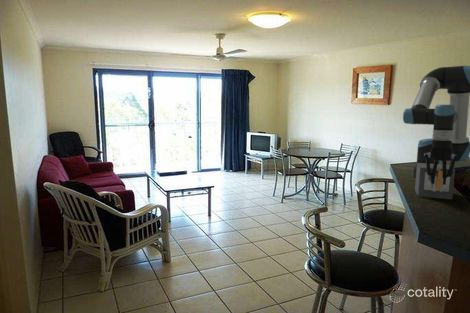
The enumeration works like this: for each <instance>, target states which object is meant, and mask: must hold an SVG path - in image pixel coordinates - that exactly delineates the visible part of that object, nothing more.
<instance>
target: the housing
mask: <svg viewBox="0 0 470 313" xmlns="http://www.w3.org/2000/svg"><path fill="white" fill-rule="evenodd" d="M416 164H417V170H416V177H415V186H414V191H415V192H416V195H417V197H418V198H419V197H420V198H432V199H445V200H453V196H454V186H455V176H456V175H455V174H456V169H455V167H454V168H453V172H452V175H451V177H450V182H449V192H446V191H442V192H440V191H436V192H434V191H433V190H424V177H425V172H427V167H426V163H417V162H416ZM449 166H450V164H447V163H446V172H447V173H448V169H449ZM432 169H433V164H430V171H431V172H432ZM437 169H440V170H441V171H442V163H439V164H438V165H437Z"/></svg>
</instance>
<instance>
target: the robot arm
mask: <svg viewBox="0 0 470 313" xmlns="http://www.w3.org/2000/svg"><path fill="white" fill-rule="evenodd" d="M438 90H447V91H446V92H447V94H448V95H449V104H436V105H435V107H434V108H431V104H432V102H433V99H434V97H435V94H436V92H438ZM469 102H470V65H454V66H440V67H438V68H435V69H433V70H431V71H429V72H428V73H427V74H425V75H424V76H423V78H422V79H421V81H420V83H419V90H418V92H417V94H416V96H415V99H414V101H413V102H412V106H411V108H405V109H404V110H403V114H402V121H403V123H404V124H406V125H408V124H409V125H429V126H430V125H431V126H433V128H432V129H433V130H432V137H431V138H423V139H419V140H418V144H417V154H416V163H415V166H414V168H413V171H412V176H413V177H414V178H416V170H417V163H426V167H427V174H428V175H429V176H431V183H432V184H433V191H434V192H436V183H437V177H436V176H435V175H436V170H437V165H438V164H440V162H441V164H442V172H443V175H442V176H443V177H442V186H441V189H439V191H440V192H442V189H443V185H445V184H446V178H447V177H451V175H452V172H453V168H454V169H455V164H456V163H467V162H468V160H469V158H470V138H469V137H467V134H468V133H467V128H468V116H469V104H470V103H469ZM447 162H450V163H449V165H450V166H449V169H448V173H447V172H446V164H447ZM430 164H433V169H432V173H431V171H430Z"/></svg>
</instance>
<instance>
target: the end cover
mask: <svg viewBox="0 0 470 313" xmlns="http://www.w3.org/2000/svg"><path fill="white" fill-rule="evenodd" d="M431 173H432V172H431ZM442 175H443V172H442V171H441V170H440V169H437V170H436V175H435V176H436V177H437V183H436V191H439V189H441V186H442V177H443V176H442ZM449 182H450V177H447V178H446V184H445V185H443V189H442V191H446V192H449ZM424 190H433V184H432V183H431V176H429V175H428V174H427V172H425V177H424Z"/></svg>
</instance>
